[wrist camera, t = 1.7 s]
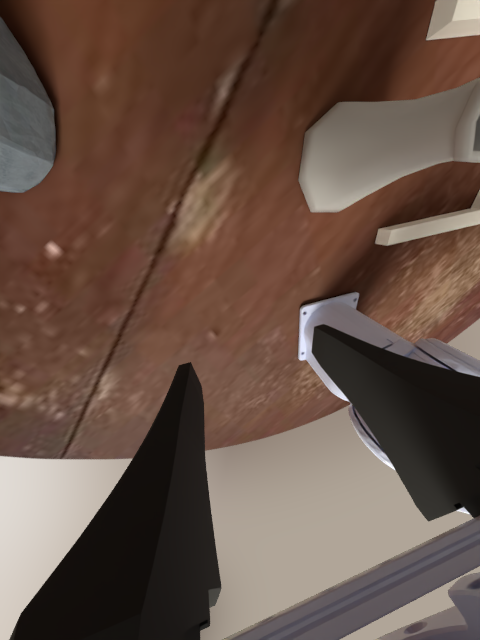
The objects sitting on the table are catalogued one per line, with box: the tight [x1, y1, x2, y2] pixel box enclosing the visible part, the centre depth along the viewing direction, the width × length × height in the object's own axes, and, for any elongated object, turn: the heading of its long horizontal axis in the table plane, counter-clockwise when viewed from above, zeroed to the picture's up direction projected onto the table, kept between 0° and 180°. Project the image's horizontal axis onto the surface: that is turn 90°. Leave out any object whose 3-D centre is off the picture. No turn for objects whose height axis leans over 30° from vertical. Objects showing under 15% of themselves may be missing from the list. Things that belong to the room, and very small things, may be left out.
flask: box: [298, 77, 480, 212], centre depth 11 cm, size 7×7×10 cm
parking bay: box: [375, 0, 480, 246], centre depth 16 cm, size 15×14×2 cm
